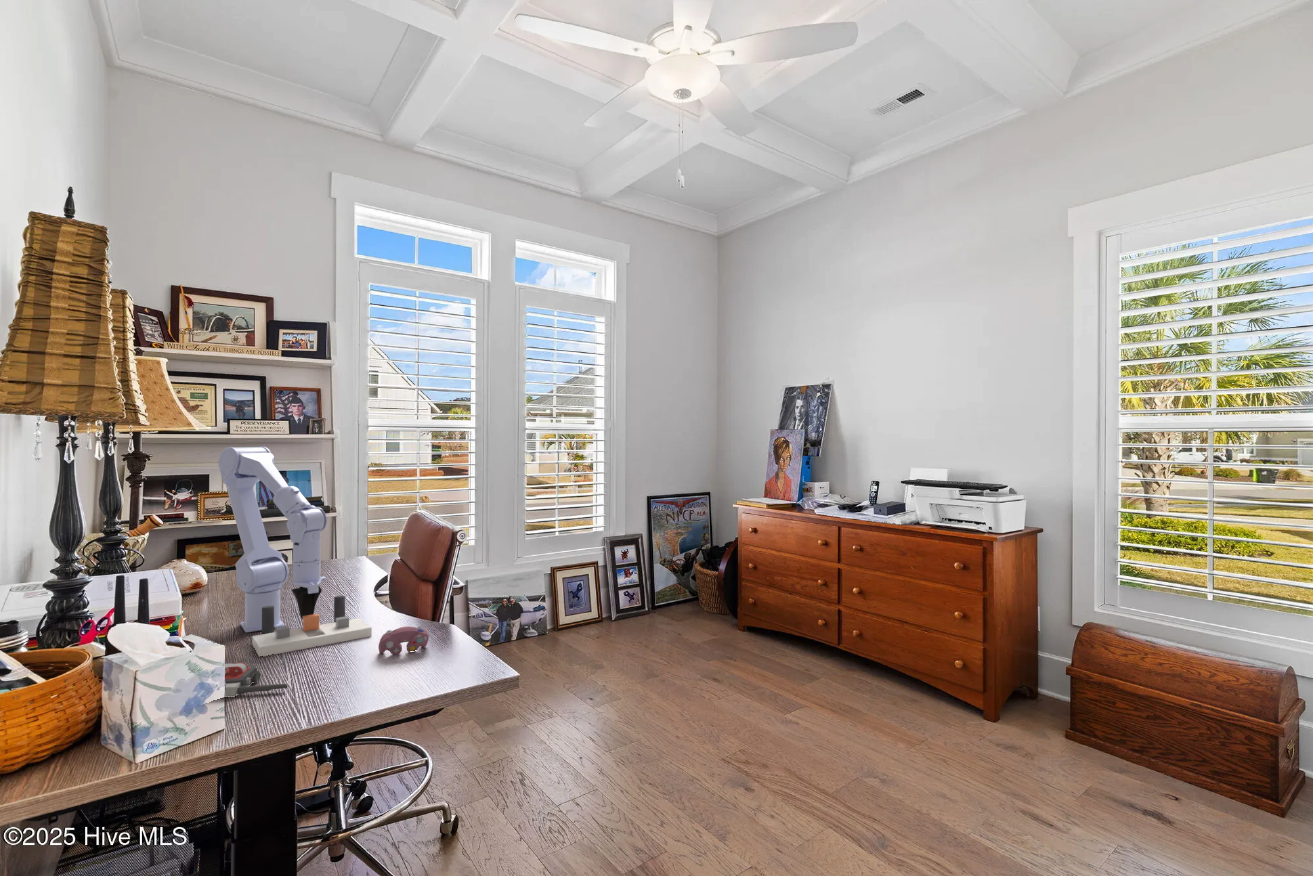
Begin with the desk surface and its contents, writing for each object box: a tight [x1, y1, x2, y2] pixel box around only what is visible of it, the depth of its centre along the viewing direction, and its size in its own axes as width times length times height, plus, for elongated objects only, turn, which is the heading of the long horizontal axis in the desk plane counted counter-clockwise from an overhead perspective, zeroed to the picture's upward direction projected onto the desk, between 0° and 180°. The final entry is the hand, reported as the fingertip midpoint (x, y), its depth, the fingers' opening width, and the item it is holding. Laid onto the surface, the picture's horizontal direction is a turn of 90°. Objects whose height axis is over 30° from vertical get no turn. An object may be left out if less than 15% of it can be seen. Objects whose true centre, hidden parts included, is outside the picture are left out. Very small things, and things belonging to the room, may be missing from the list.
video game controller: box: [378, 625, 430, 656], centre depth 133 cm, size 10×5×7 cm, turn 118°
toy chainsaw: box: [224, 662, 289, 696], centre depth 114 cm, size 9×4×20 cm
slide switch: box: [302, 613, 320, 631], centre depth 143 cm, size 2×3×3 cm, turn 130°
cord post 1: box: [261, 606, 275, 635], centre depth 144 cm, size 2×2×7 cm
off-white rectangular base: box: [251, 615, 373, 658], centre depth 141 cm, size 10×22×4 cm, turn 130°
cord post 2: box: [333, 595, 346, 623], centre depth 153 cm, size 2×2×7 cm
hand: (306, 618), depth 147 cm, fingers closed
